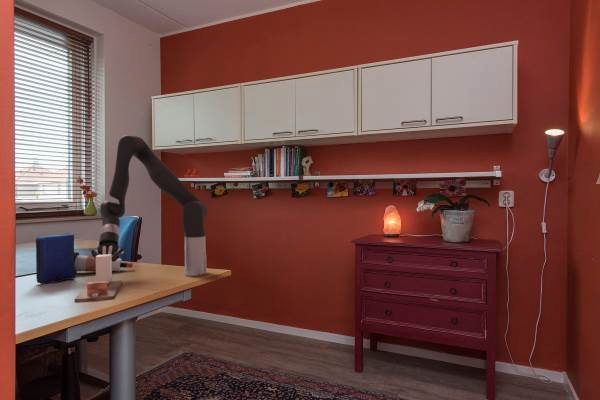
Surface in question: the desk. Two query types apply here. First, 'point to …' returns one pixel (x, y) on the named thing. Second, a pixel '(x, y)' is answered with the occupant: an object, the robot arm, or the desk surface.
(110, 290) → the rail board
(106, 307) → the desk surface
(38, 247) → the book
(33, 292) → the desk surface
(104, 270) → the sleeve
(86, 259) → the grey brown bottle
